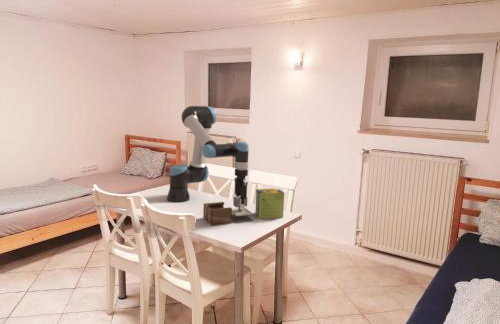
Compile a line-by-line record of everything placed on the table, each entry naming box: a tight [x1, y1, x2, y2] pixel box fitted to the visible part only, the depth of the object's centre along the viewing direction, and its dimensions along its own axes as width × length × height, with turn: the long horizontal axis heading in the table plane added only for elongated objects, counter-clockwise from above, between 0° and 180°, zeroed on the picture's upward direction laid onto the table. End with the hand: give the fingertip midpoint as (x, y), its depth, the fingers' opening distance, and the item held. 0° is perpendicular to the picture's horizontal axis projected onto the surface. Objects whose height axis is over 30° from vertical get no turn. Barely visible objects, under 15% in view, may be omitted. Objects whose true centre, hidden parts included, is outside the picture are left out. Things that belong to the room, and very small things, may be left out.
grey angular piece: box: [231, 196, 253, 216], centre depth 206 cm, size 11×10×9 cm
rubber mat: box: [232, 213, 255, 224], centre depth 208 cm, size 15×12×1 cm
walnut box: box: [202, 201, 233, 227], centre depth 201 cm, size 14×12×9 cm
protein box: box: [254, 188, 285, 219], centre depth 213 cm, size 10×15×16 cm
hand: (240, 208), depth 206 cm, fingers closed on grey angular piece, 4 cm apart
